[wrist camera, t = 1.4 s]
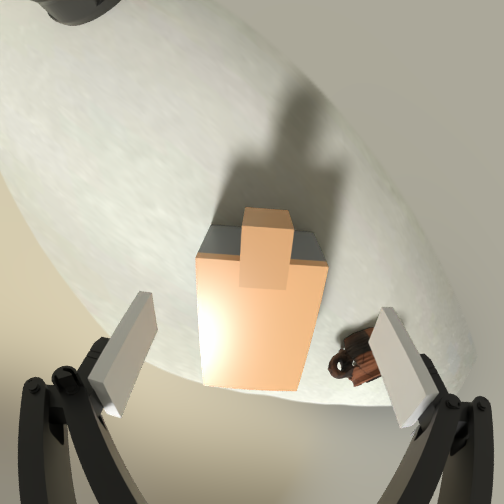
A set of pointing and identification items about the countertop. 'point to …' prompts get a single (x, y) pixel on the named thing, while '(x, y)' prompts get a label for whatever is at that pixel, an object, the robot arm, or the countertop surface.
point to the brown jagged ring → (356, 359)
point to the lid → (258, 307)
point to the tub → (230, 243)
